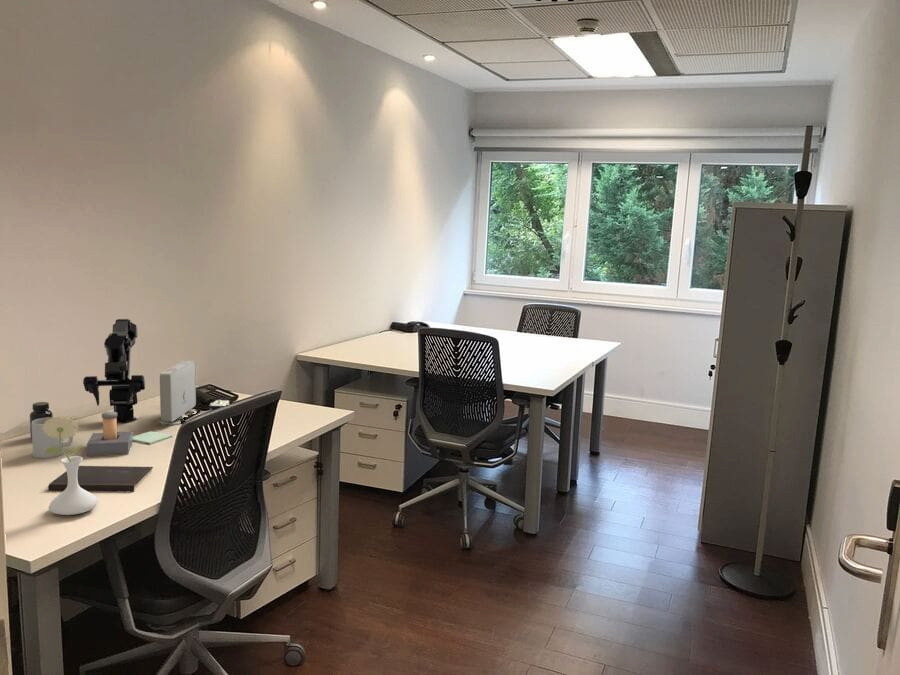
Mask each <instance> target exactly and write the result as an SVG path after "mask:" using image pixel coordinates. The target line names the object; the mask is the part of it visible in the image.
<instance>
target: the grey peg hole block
mask: <svg viewBox="0 0 900 675" xmlns="http://www.w3.org/2000/svg"><path fill="white" fill-rule="evenodd" d="M133 437H134V436H133V431H117V439H114V440H104V437H103V432H93V433H92V434H91V436H90V438H89V439H88V441H87V443H86V456H87V457H94V456H95V457H98V456H112V455H114V454H118V455H128V454H127V453H130V451H131V449H132V447H133V444H132V443H133V442H134V441H133ZM130 448H131V449H130ZM114 456H115V455H114Z"/></svg>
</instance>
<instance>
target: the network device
mask: <svg viewBox="0 0 900 675" xmlns="http://www.w3.org/2000/svg"><path fill="white" fill-rule="evenodd" d="M196 376H197V375H196V361H195V360H183V361H181V362H179V363H177V364H175V365H173V366H171V367H169V368H167V369H165V370H164V371H162V372H160V374H159V400H160V401H159V403H160V404H159V405H160V408H159V409H160V420H159V424H160V423H161V424H160V425H164V424H169V425H168V426H170V425H171V426H180V425H181V424H180V423H181V421H178V422H177V421H176V420H184V419H183V418H184V417H188V415H186V414H187V413H191V414H196V413H197V411H196V410H194V409H193V408H194V407H195V406H196V405H197V404H196V403H197V391H196V390H197V385H196V383H197V382H196V379H197V378H196ZM191 409H193V410H191ZM192 412H194V413H192ZM197 414H198V413H197ZM197 414H196V415H197ZM174 421H176V422H174Z"/></svg>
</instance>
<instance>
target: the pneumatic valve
mask: <svg viewBox="0 0 900 675" xmlns="http://www.w3.org/2000/svg"><path fill="white" fill-rule="evenodd" d="M226 405H229V406H230V399H215V401H213V402H210V403H209V410H208V411H211V410H214V409H217V408H220V407H223V406H226Z"/></svg>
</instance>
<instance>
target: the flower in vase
mask: <svg viewBox="0 0 900 675" xmlns="http://www.w3.org/2000/svg"><path fill="white" fill-rule="evenodd" d="M56 417H57V418H55V416H53V417H52V418H51V419H50V420H49V419H48V420H47V421H45V422H44V423H45V424H44V425H43V426H44V427H42V429H43V430H44V433H46V434H47V436H49V437H52V438H55V437H57V439H59V446H60V448H56V447H50V448H48V449H47V450H46V451H45V452H44V453H50V454H58V453H59V452H60V451H62V452H63V454H64V455H65V457H64V458H61V459H60V462H61V463H62V464H63V465H64V468H65V469H66V471H67V476H68V485H67V488H66V489H65V490H64V491H61V493H59V494H58V495H57V496H56V497H54V498H53V500H51V502H50V503H49V506H48V510H49V511H50V512H51V513H53V514H55V515H61V516H71V515H78V514H83V513H85V512H89V511H91V510H92V509H95V508H96V507H97V505H98V503H99V500H98V497H97V496H95V495H94V493H91V491H86V490H84V489H82V488H81V487H80V486H79V484H78V479H77V474H78V467H79V466H80V464H81V463H82V461H83V457H82V456H78V455H75V456H74V454H76V453H77V452H79V450H80V449H81V448H82V447H83V444H81V445H79V446H77V447H74V448H72V449H71V450H70V451H69V452H68V453H66V452H65V451H63V449H62V448H61V439H63V440H66V439H69V438H70V437H71V436H73V437H74V436H76V435H77V434H76V433H78V430H79V428H78V427H79V426H78V425H77V424H76V423H77V422H76V421H73V418H72V419H71V418H67V417H66V416H62V417H61V416H56ZM69 455H73V456H69ZM66 471H65V472H66Z"/></svg>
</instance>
